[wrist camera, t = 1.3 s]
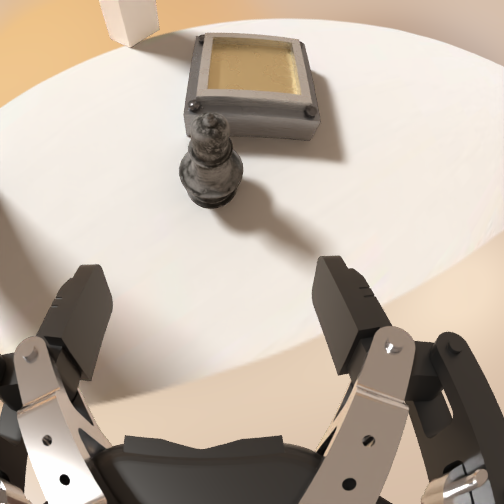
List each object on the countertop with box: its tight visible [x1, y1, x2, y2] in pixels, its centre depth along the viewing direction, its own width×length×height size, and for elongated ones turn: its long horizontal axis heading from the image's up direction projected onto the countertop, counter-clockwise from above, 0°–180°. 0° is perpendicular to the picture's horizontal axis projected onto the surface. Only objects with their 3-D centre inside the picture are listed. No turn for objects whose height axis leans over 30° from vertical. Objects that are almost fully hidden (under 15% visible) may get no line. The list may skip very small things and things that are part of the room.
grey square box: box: [184, 33, 321, 141], centre depth 28 cm, size 14×14×6 cm
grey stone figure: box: [179, 112, 243, 208], centre depth 22 cm, size 6×6×12 cm
